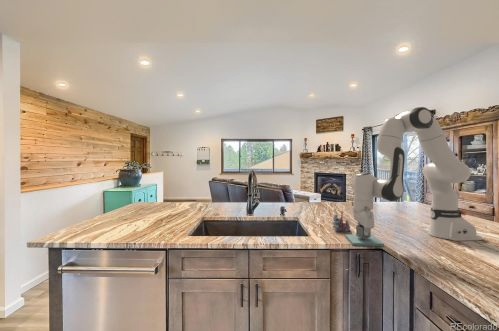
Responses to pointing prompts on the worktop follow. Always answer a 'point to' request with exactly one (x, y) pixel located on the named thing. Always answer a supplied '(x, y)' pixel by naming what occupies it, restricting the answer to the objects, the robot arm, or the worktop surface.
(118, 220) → the worktop surface
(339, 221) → the grey red spired figurine
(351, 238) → the shaft block
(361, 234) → the hub
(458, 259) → the worktop surface
